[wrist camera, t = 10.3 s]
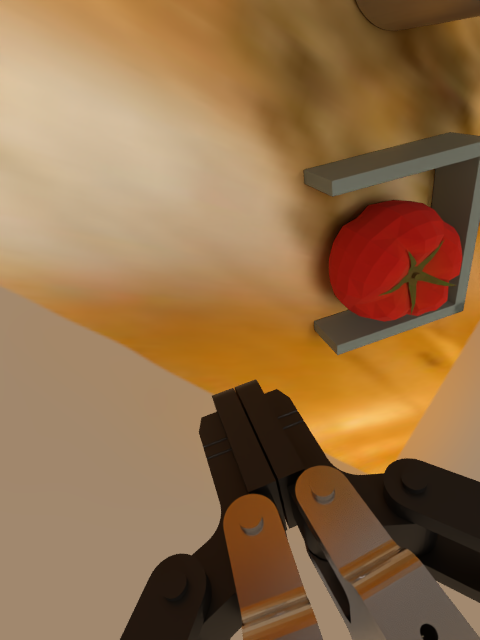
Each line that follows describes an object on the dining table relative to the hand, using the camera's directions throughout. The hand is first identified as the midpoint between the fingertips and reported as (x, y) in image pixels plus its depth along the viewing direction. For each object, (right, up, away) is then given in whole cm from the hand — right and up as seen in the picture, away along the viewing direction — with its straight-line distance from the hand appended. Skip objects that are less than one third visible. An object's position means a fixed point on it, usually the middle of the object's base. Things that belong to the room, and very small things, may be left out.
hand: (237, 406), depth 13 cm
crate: (+15, +11, +28) cm, 33 cm away
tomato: (+13, +10, +28) cm, 33 cm away
